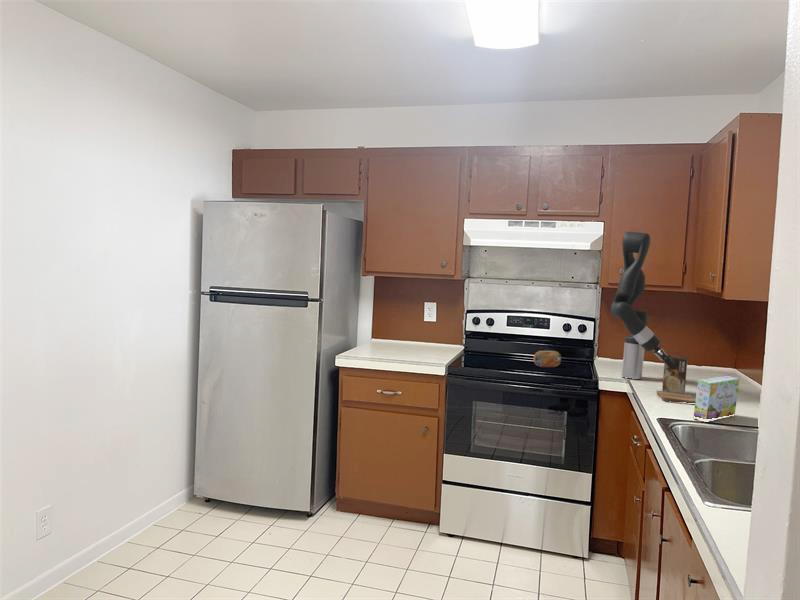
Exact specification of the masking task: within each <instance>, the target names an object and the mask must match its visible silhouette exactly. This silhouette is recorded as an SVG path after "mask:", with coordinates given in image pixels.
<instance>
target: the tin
mask: <svg viewBox="0 0 800 600" xmlns="http://www.w3.org/2000/svg"><path fill="white" fill-rule="evenodd" d="M561 362H562V356H561V353H559V351H557V350H538V351H537V352H535V353H534V355H533V363H534V364H535V366H537V367H540V368H557V367H558V366H560V365H561Z"/></svg>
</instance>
